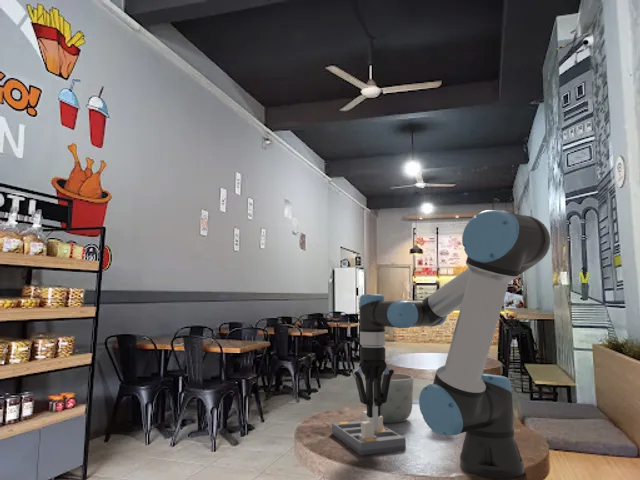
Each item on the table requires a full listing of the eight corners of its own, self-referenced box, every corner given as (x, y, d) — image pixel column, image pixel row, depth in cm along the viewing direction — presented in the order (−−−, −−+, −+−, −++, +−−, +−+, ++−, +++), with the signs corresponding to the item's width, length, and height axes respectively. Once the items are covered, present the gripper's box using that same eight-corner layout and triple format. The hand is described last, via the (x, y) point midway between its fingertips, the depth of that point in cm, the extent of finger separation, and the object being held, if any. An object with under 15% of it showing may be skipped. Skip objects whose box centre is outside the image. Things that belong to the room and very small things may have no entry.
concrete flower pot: (412, 428, 150) (411, 381, 152) (362, 424, 154) (362, 378, 156) (416, 416, 166) (415, 373, 168) (371, 413, 170) (370, 372, 173)
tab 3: (385, 436, 135) (385, 416, 136) (373, 437, 134) (373, 417, 135) (380, 433, 139) (380, 414, 139) (368, 434, 137) (368, 415, 138)
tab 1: (376, 430, 141) (376, 412, 142) (365, 432, 140) (364, 413, 141) (371, 428, 144) (371, 410, 145) (360, 429, 143) (360, 411, 144)
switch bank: (405, 449, 127) (405, 437, 128) (361, 455, 122) (360, 442, 123) (371, 429, 148) (371, 418, 148) (332, 433, 143) (332, 422, 143)
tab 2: (376, 443, 128) (376, 423, 129) (364, 445, 127) (363, 424, 127) (371, 440, 131) (371, 420, 132) (359, 441, 130) (358, 421, 131)
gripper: (386, 344, 139) (387, 423, 136) (347, 345, 135) (348, 427, 132) (398, 346, 132) (400, 430, 129) (357, 347, 128) (358, 434, 125)
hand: (373, 428), depth 130 cm, fingers closed
